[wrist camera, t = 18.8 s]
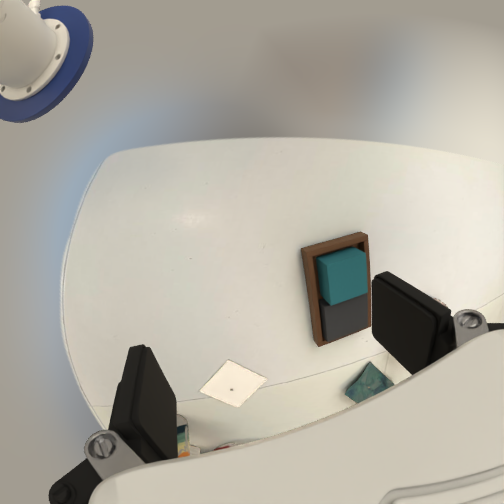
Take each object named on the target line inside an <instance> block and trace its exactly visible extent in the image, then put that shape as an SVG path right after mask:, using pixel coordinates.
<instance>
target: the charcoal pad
mask: <svg viewBox="0 0 504 504" xmlns="http://www.w3.org/2000/svg"><path fill="white" fill-rule="evenodd" d="M318 302H319V311H320V320H321V329H322V336H323V337H324V338H325V340H326V341H327V342H330V341H333V340H335V339H338V338H341V337H343V336H346V335H348V334H351V333H353V332H356V331H358V330H361V329H363V328H365V327H368V296H367V293H365V294H362V295H359V296H357V297H354V298H351V299H349V300H346V301H343V302H340V303H337V304H335V305H332V306H331V305H330V304H329V303H328V302H327V301H326V300H325V299H324V298H322V299H319V300H318Z"/></svg>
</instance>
